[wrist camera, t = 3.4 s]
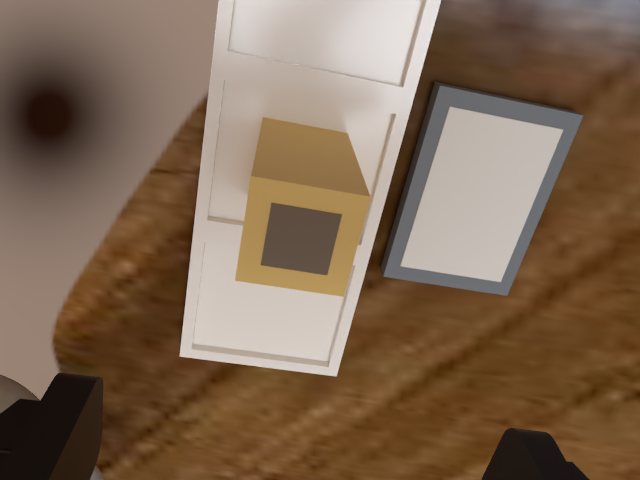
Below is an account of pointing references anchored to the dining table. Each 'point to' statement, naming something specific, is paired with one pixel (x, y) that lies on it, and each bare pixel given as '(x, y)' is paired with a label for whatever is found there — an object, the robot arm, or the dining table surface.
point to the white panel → (262, 314)
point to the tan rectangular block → (302, 210)
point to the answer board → (476, 188)
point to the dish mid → (296, 107)
